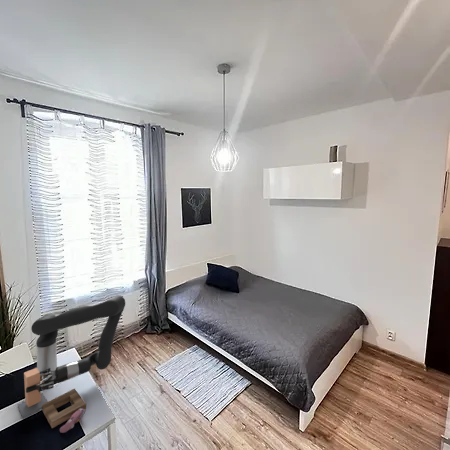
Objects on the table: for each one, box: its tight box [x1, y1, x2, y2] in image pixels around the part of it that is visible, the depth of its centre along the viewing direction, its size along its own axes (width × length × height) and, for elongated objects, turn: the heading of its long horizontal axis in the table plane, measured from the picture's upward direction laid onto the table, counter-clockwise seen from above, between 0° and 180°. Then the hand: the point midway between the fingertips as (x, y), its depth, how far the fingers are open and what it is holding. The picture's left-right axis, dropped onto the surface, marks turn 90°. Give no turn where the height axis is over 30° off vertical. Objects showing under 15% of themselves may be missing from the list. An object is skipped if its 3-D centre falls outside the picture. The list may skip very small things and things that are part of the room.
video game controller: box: [59, 408, 86, 434], centre depth 113 cm, size 10×5×7 cm, turn 169°
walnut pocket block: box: [41, 388, 87, 429], centre depth 120 cm, size 14×14×3 cm
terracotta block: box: [23, 367, 42, 407], centre depth 121 cm, size 5×5×15 cm
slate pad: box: [17, 392, 49, 419], centre depth 122 cm, size 10×10×1 cm
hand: (25, 386), depth 119 cm, fingers closed on terracotta block, 5 cm apart
